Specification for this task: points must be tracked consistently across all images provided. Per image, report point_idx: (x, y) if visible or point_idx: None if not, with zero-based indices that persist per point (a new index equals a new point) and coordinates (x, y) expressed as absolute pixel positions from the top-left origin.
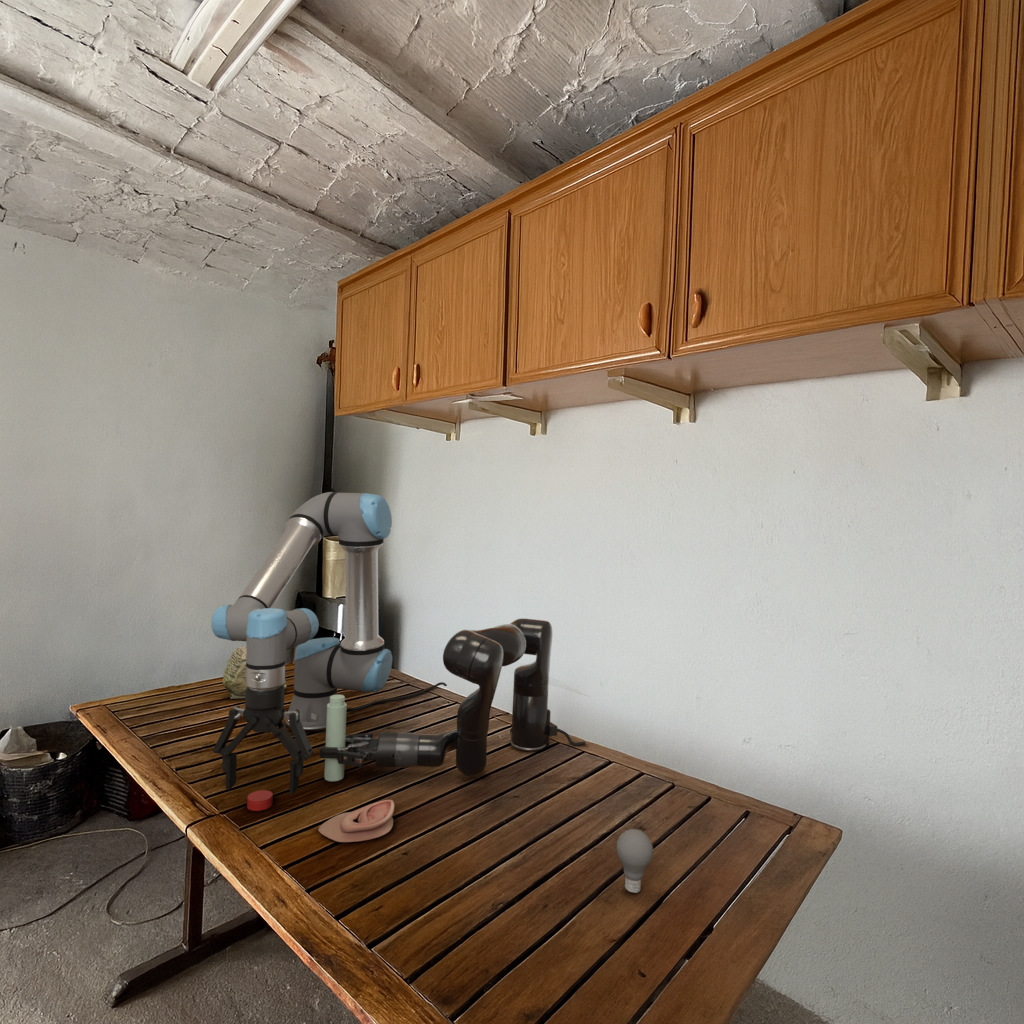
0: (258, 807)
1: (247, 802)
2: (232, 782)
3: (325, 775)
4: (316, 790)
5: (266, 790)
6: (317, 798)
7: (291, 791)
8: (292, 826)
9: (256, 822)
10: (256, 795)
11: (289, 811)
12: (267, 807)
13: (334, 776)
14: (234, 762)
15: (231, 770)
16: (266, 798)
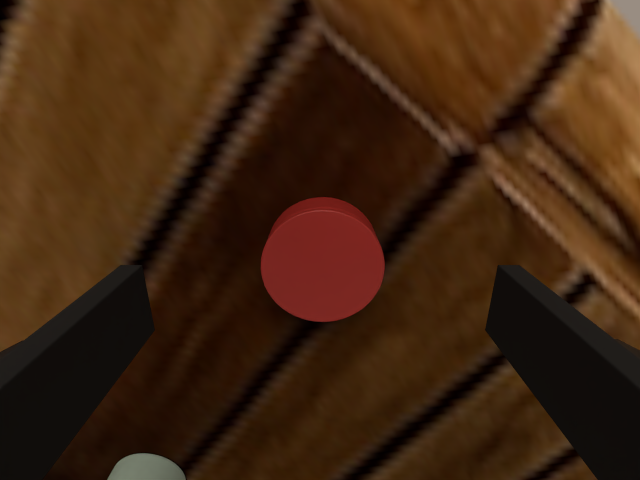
0: (302, 203)
1: (370, 226)
2: (504, 310)
3: (164, 476)
4: (157, 390)
5: (316, 319)
6: None
7: (122, 273)
8: (60, 77)
9: (258, 90)
10: (341, 268)
11: (163, 217)
12: (272, 227)
13: (121, 473)
14: (580, 419)
15: (561, 349)
16: (275, 245)
